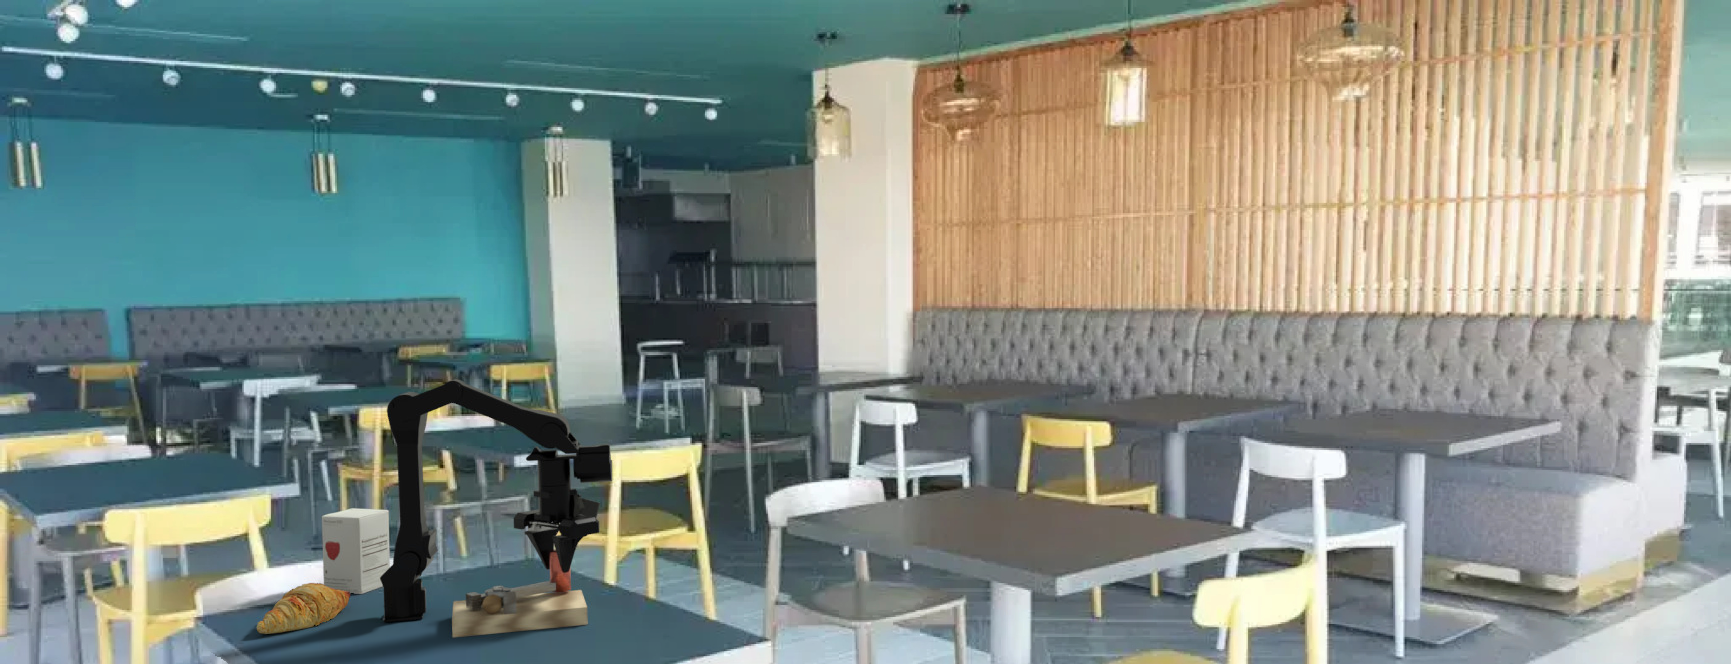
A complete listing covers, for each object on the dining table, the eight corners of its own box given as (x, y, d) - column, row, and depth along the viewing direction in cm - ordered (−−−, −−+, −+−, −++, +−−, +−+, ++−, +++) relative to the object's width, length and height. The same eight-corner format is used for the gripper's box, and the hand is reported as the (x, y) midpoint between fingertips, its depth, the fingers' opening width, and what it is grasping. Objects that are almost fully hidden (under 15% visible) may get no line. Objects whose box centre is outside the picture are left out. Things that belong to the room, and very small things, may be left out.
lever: (475, 610, 207) (473, 568, 207) (463, 606, 210) (462, 564, 210) (575, 590, 220) (574, 550, 220) (563, 586, 223) (562, 547, 223)
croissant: (274, 659, 205) (290, 619, 203) (229, 628, 207) (245, 588, 206) (360, 623, 225) (375, 586, 224) (318, 595, 227) (333, 559, 226)
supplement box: (321, 592, 237) (319, 515, 236) (354, 581, 246) (351, 507, 245) (361, 594, 234) (358, 517, 234) (392, 583, 243) (389, 508, 242)
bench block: (452, 637, 204) (451, 601, 203) (454, 617, 216) (453, 584, 216) (587, 624, 210) (586, 589, 210) (581, 606, 223) (580, 573, 222)
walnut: (482, 616, 205) (482, 597, 205) (482, 611, 208) (482, 593, 208) (502, 614, 206) (502, 595, 206) (502, 609, 209) (501, 591, 209)
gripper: (622, 482, 220) (625, 568, 221) (562, 475, 233) (564, 557, 233) (570, 489, 212) (573, 579, 212) (510, 482, 224) (513, 567, 225)
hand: (557, 570), depth 221 cm, fingers open, 5 cm apart
